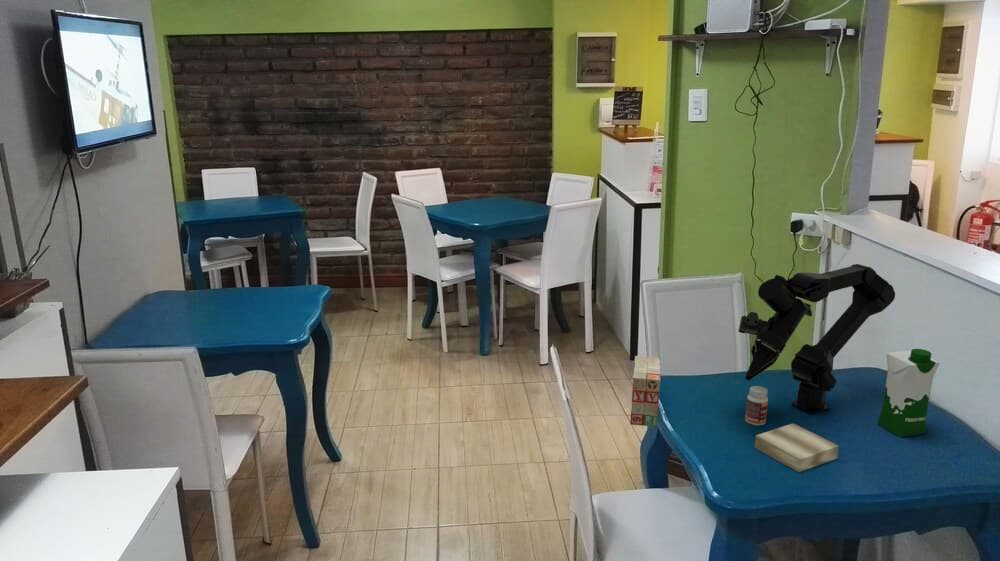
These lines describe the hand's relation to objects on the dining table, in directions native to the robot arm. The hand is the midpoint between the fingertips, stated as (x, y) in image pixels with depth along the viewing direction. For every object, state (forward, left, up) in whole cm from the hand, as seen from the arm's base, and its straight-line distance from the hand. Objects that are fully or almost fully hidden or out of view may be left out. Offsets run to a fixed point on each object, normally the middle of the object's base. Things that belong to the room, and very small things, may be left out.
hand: (747, 377), depth 173 cm
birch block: (0, +15, -12) cm, 19 cm away
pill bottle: (-4, 0, -13) cm, 13 cm away
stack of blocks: (+13, -19, -13) cm, 27 cm away
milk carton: (-31, +19, -13) cm, 39 cm away
